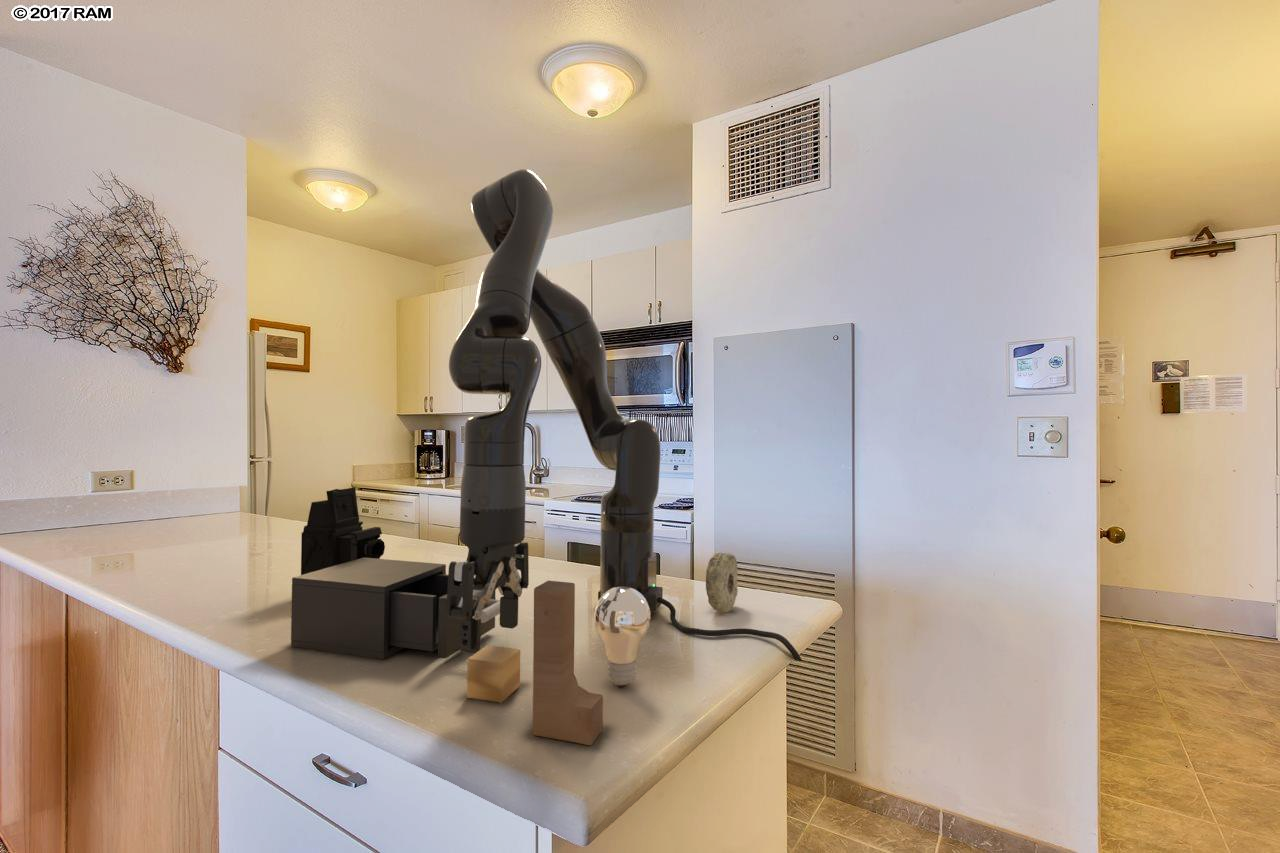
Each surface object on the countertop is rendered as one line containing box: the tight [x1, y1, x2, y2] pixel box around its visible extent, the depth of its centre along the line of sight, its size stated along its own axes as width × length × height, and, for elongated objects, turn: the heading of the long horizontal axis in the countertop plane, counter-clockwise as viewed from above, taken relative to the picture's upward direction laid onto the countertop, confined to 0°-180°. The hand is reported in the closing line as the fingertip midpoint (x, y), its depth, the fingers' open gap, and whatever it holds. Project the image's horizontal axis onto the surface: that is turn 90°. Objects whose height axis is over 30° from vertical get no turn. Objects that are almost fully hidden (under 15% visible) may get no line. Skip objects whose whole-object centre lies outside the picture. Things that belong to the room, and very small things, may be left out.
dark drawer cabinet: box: [290, 558, 447, 660], centre depth 85 cm, size 16×14×10 cm
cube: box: [466, 644, 521, 704], centre depth 67 cm, size 4×4×4 cm
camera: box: [300, 486, 386, 575], centre depth 105 cm, size 10×14×20 cm
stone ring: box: [705, 552, 739, 613], centre depth 99 cm, size 10×4×10 cm, turn 150°
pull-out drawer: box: [388, 573, 500, 659], centre depth 82 cm, size 19×13×8 cm, turn 74°
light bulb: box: [593, 586, 652, 688], centre depth 69 cm, size 7×7×12 cm
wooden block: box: [531, 580, 604, 746], centre depth 58 cm, size 7×3×15 cm, turn 73°
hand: (490, 638), depth 67 cm, fingers open, 8 cm apart
